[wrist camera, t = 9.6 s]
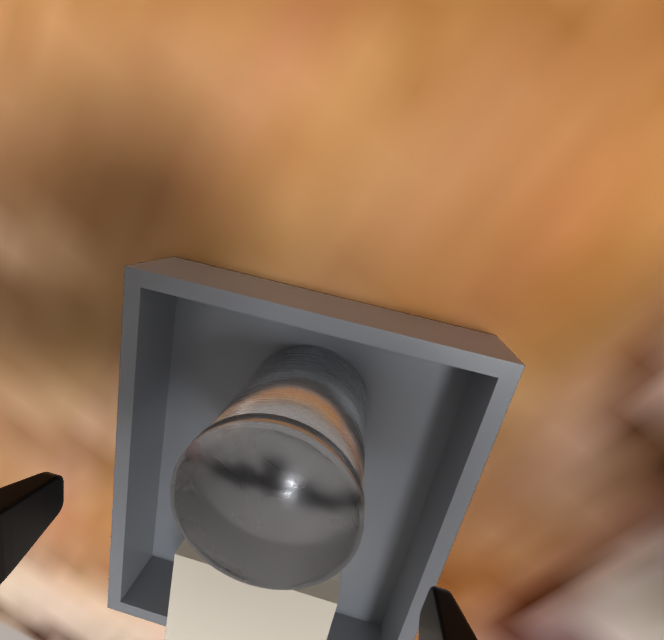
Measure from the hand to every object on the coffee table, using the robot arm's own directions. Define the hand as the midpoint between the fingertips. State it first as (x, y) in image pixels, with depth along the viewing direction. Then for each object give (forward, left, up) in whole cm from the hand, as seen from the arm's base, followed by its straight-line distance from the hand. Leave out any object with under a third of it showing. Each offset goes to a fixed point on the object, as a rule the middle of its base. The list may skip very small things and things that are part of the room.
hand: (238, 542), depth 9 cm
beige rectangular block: (0, +8, -7) cm, 10 cm away
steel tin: (0, 0, -7) cm, 7 cm away
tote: (0, +4, -8) cm, 8 cm away
